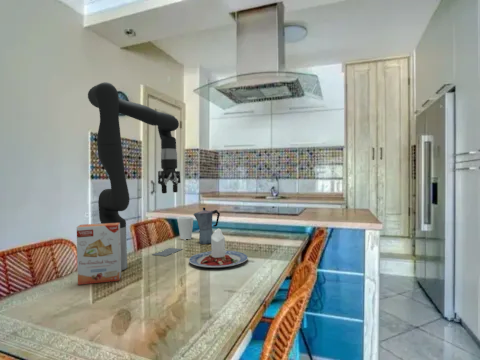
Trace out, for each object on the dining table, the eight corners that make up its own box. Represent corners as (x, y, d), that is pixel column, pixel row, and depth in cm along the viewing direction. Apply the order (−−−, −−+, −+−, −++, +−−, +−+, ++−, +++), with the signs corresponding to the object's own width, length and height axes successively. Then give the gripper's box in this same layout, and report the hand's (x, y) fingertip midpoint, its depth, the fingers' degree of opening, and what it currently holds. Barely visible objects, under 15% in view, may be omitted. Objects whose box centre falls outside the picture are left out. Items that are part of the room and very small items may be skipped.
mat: (165, 256, 144) (165, 255, 144) (152, 255, 147) (152, 254, 147) (182, 249, 157) (182, 249, 157) (169, 248, 160) (169, 247, 160)
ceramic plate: (176, 267, 128) (176, 260, 128) (210, 252, 151) (210, 246, 151) (229, 275, 116) (229, 267, 116) (257, 258, 139) (257, 251, 138)
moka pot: (191, 242, 174) (190, 207, 173) (217, 239, 180) (216, 205, 180) (196, 245, 165) (195, 208, 165) (223, 242, 172) (222, 207, 171)
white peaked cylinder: (210, 229, 130) (211, 227, 136) (210, 257, 130) (212, 254, 136) (224, 229, 130) (224, 227, 136) (224, 257, 130) (225, 254, 136)
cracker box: (77, 285, 107) (75, 226, 107) (81, 280, 113) (79, 224, 112) (120, 281, 111) (118, 224, 110) (121, 276, 116) (120, 221, 116)
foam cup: (192, 240, 178) (191, 218, 178) (176, 241, 178) (175, 218, 178) (194, 237, 188) (194, 216, 188) (180, 237, 188) (179, 216, 188)
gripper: (166, 157, 136) (167, 193, 137) (184, 159, 149) (185, 192, 150) (152, 158, 139) (153, 193, 139) (171, 159, 152) (172, 192, 153)
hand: (170, 192), depth 145 cm, fingers open, 8 cm apart
